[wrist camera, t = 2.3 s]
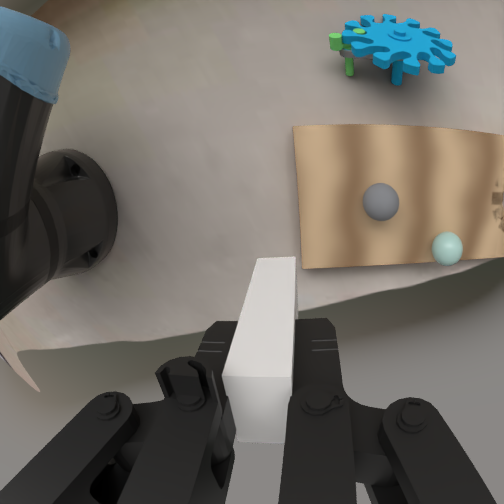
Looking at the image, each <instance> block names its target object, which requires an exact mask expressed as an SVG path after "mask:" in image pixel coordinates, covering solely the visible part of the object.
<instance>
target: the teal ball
mask: <svg viewBox="0 0 504 504" xmlns="http://www.w3.org/2000/svg"><path fill="white" fill-rule="evenodd" d="M462 252H463V246H462V242H461V240H460V238H459V237H458V236H457V235H456V234H454V233H452V232H448V231H446V232H442V233H440V234H438V235H437V236H436V237H435V239H434V240H433V243H432V254H433V257H434V259H435V260H436V261H437V262H438V263H439V264H441V265H444V266H451V265H453V264H455V263H457V262H458V261H459V259H460V258H461V256H462Z"/></svg>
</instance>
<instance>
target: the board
mask: <svg viewBox="0 0 504 504" xmlns="http://www.w3.org/2000/svg"><path fill="white" fill-rule="evenodd" d="M293 135H294V146H295V158H296V171H297V184H298V199H299V215H300V233H301V253H302V269H309V268H331V267H352V266H371V265H389V264H407V263H423V262H437V261H436V260H435V259H434V257H433V254H432V243H433V240H434V239H435V237H436V236H437V235H438V234H440V233H442V232H446V231H448V232H452V233H454V234H456V235H457V236H458V237H459V238H460V240H461V242H462V246H463V252H462V256H461V258H460V259H459V260H469V259H483V258H496V257H504V209H503V206H502V201H503V192H504V135H498V134H491V133H484V132H476V131H468V130H459V129H449V128H437V127H424V126H406V125H373V124H346V125H312V126H293ZM376 183H385V184H388V185H390V186H391V187H392V188H393V189H394V190H395V191H396V192H397V194H398V197H399V208H398V211H397V213H396V214H395V215H394V216H393V217H392V218H391V219H389V220H386V221H377V220H374V219H372V218H371V217H370V216H368V215H367V213H366V212H365V210H364V207H363V196H364V193H365V191H366V190H367V189H368V188H369V187H370V186H371V185H373V184H376Z"/></svg>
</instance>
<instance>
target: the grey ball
mask: <svg viewBox="0 0 504 504" xmlns="http://www.w3.org/2000/svg"><path fill="white" fill-rule="evenodd" d="M363 207H364V210H365V212H366V213H367V215H368V216H370V217H371V218H372V219H374V220H377V221H386V220H389V219H391V218H392V217H393V216H394V215H395V214H396V213H397V211H398V208H399V197H398V194H397V192H396V191H395V190H394V189H393V188H392V187H391V186H390V185H388V184H385V183H376V184H373V185H371V186H370V187H369V188H368V189H367V190H366V191H365V193H364V196H363Z"/></svg>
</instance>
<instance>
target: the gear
mask: <svg viewBox="0 0 504 504" xmlns="http://www.w3.org/2000/svg"><path fill="white" fill-rule="evenodd" d="M360 17H361V24H362V25H363V26H366V27H362V26H360V24H359V22H357V21H349V22H346V23H345V30H344V31H343V32H342V35H341V34H339V33H331V34H329V40H330V48H331V49H332V50H334V51H339V52H340V55H341V56H343V57H345V67H346V75H348V76H353V75H354V66H353V58H366V59H373V64H374V65H376V66H378V67H380V68H382V69H387V68H389V67H390V64H391V63H392V62H393V63H392V78H391V82H392V84H394V85H397V86H399V85H401V84H402V75H403V72H405V73H408V74H412V75H419V71H420V63H419V62H418V60H425V61H427V62H428V63H429V64H428V70H429V71H430V72H431V73H436V74H440V73H444V68H445V65H447V66H452V65H453V64H454V63H455V59H456V55H455V54H454V53H452V52H451V51H452V42H451V41H449V40H445V39H440V33H439V31H437V30H436V29H435V28H426V29H419V28H420V22H418V21H416V20H413V19H411V18H409V19H407V20H406V22H404V23H398V24H396V16H393V15H387V14H383V23H375V22H374V17H373V16H371V15H364V16H360ZM434 55H435V56H437V57H439V58H440V59H438V58H437V57H435V56H434Z"/></svg>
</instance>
